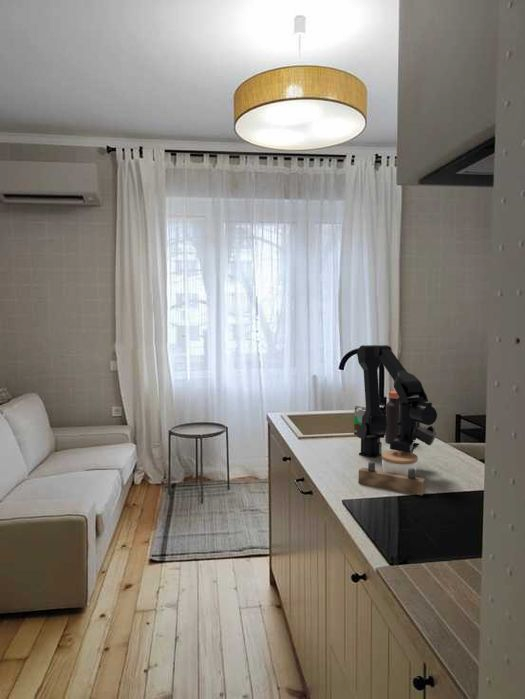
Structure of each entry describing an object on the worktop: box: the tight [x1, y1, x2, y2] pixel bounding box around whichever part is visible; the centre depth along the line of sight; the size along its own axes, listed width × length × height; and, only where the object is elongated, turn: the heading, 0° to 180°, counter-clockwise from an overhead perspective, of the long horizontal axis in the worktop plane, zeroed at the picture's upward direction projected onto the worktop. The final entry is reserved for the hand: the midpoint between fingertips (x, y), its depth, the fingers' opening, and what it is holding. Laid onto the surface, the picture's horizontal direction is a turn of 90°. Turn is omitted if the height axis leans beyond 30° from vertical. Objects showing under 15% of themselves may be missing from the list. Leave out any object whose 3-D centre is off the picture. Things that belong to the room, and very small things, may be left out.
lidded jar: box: [381, 450, 419, 476], centre depth 154 cm, size 11×11×9 cm
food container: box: [353, 405, 366, 435], centre depth 215 cm, size 12×6×10 cm, turn 168°
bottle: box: [384, 390, 401, 444], centre depth 198 cm, size 7×7×20 cm
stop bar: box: [357, 461, 426, 496], centre depth 148 cm, size 19×3×6 cm, turn 58°
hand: (407, 465), depth 162 cm, fingers closed
